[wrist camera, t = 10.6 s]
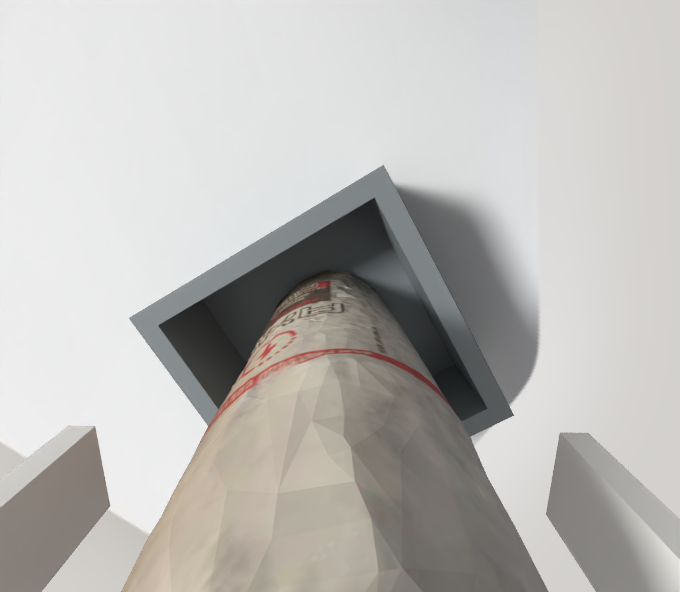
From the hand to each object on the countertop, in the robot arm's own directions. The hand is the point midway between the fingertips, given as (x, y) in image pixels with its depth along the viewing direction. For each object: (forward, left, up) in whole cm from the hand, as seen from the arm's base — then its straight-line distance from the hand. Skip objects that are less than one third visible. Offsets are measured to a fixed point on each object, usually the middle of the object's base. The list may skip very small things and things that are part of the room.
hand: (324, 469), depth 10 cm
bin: (0, 0, -14) cm, 14 cm away
